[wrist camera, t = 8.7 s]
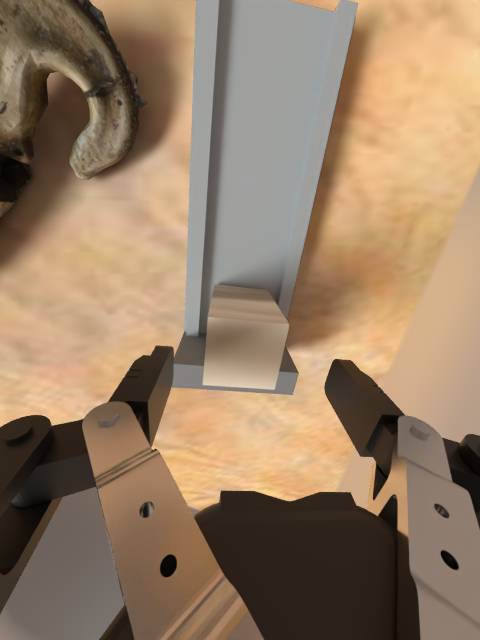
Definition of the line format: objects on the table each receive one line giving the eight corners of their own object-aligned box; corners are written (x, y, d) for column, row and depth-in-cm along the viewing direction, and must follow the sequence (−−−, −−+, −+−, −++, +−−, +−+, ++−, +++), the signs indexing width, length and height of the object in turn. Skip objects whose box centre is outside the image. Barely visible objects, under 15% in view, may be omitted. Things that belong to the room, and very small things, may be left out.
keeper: (214, 284, 18) (207, 316, 12) (267, 290, 18) (289, 324, 12) (210, 333, 20) (202, 385, 13) (259, 337, 20) (274, 389, 14)
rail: (199, -1, 13) (178, -179, 7) (345, 33, 14) (428, -101, 8) (185, 344, 22) (171, 387, 16) (275, 352, 23) (292, 394, 17)
